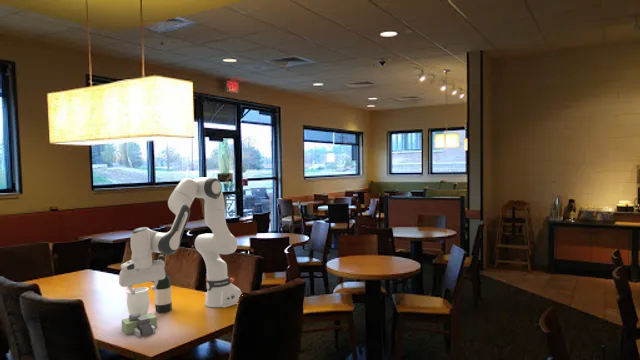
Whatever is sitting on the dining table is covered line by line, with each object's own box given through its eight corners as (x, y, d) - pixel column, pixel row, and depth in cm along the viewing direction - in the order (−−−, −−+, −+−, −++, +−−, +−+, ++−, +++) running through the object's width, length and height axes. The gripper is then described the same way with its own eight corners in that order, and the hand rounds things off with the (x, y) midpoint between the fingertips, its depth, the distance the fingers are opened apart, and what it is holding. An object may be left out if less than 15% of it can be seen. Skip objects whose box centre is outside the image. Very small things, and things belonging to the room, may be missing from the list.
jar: (143, 313, 236) (142, 285, 235) (154, 317, 229) (152, 288, 229) (124, 319, 228) (122, 290, 227) (134, 323, 221) (132, 293, 220)
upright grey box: (146, 330, 212) (146, 315, 212) (151, 334, 206) (150, 319, 206) (138, 332, 209) (137, 317, 209) (142, 336, 204) (142, 321, 204)
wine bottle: (175, 308, 243) (172, 253, 241) (165, 313, 235) (162, 257, 234) (162, 307, 245) (160, 253, 244) (152, 312, 238) (149, 256, 236)
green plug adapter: (151, 322, 222) (151, 308, 221) (162, 331, 210) (161, 316, 209) (122, 330, 213) (121, 315, 213) (130, 339, 201) (130, 323, 201)
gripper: (162, 258, 216) (163, 286, 217) (117, 265, 204) (118, 295, 204) (166, 260, 211) (168, 288, 212) (120, 267, 199) (122, 298, 199)
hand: (143, 292), depth 208 cm, fingers open, 8 cm apart
